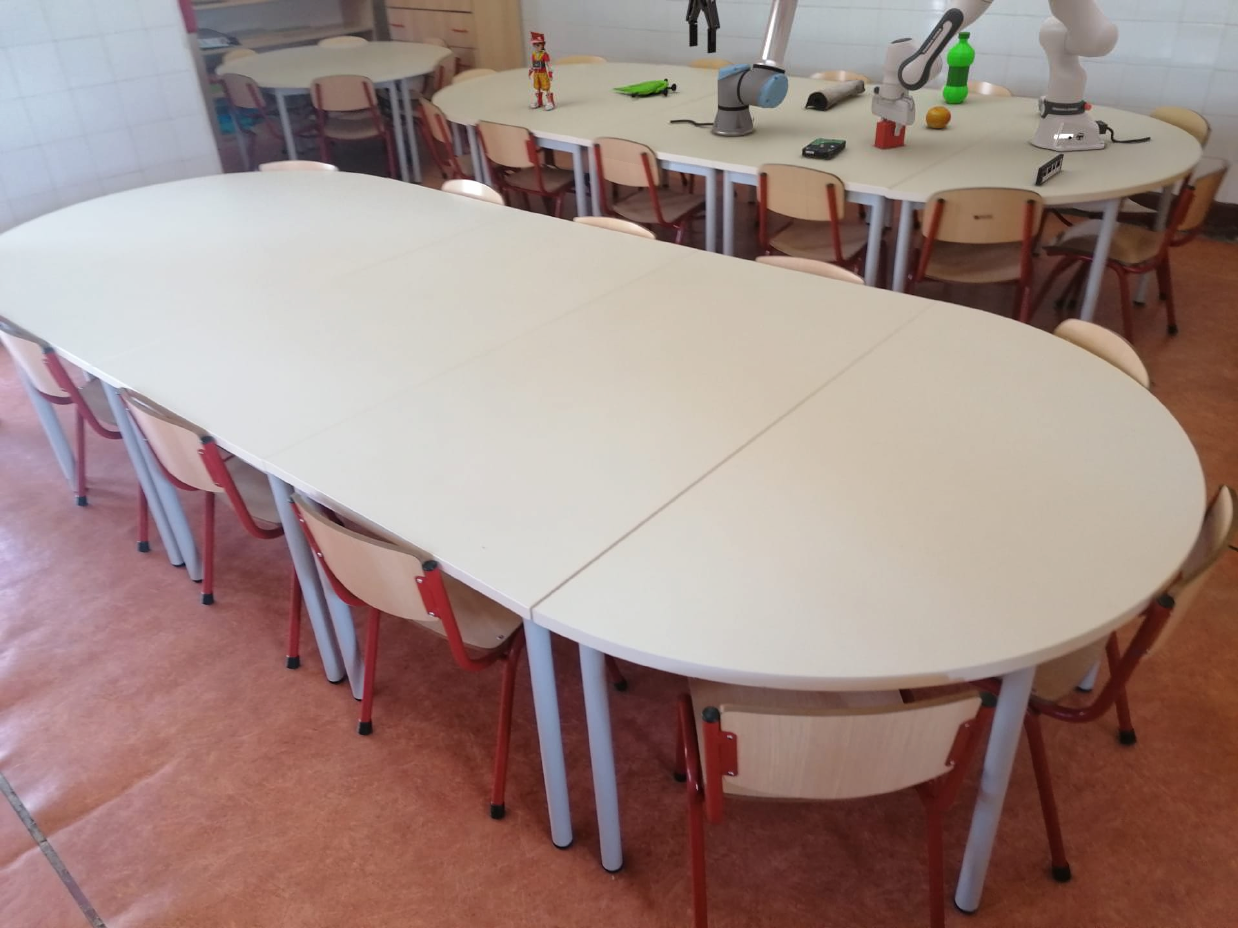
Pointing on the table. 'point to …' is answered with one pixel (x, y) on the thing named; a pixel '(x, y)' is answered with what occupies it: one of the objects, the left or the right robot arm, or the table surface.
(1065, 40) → the right robot arm
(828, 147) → the disk drive
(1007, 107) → the table surface
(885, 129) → the block
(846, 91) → the rolled mat
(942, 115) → the fruit
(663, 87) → the toy
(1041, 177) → the midi keyboard
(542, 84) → the toy
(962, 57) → the plastic bottle
